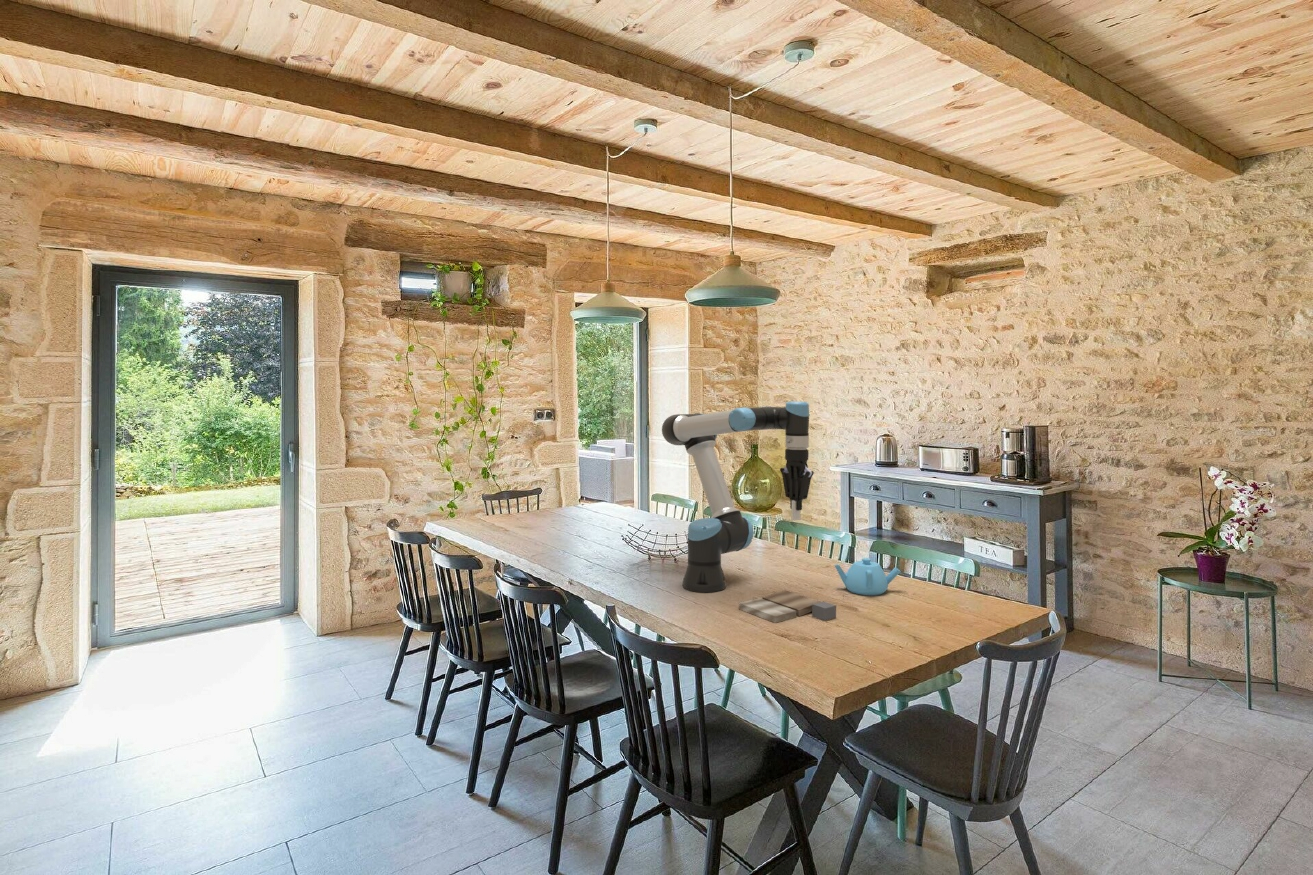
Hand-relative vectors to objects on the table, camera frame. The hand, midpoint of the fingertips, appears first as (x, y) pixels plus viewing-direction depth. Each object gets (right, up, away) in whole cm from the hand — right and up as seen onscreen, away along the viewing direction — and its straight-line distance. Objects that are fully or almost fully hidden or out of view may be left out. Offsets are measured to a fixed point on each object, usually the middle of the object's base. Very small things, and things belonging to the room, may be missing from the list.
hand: (795, 519), depth 230 cm
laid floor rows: (-12, -27, -14) cm, 33 cm away
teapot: (+27, -26, +11) cm, 39 cm away
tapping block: (+5, -28, -17) cm, 33 cm away
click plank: (-3, -27, -8) cm, 28 cm away
